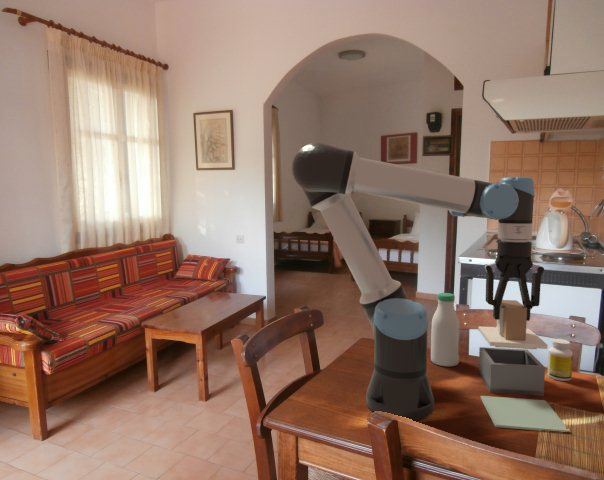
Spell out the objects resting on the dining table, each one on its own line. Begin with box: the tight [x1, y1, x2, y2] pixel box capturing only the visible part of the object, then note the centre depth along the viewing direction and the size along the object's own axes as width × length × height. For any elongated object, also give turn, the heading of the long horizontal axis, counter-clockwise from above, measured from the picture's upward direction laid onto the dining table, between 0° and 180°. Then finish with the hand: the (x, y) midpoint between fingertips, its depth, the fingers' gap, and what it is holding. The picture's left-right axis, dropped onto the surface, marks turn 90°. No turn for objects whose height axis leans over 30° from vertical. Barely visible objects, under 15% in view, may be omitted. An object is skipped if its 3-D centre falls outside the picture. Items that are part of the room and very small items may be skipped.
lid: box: [477, 299, 548, 350], centre depth 105 cm, size 13×13×10 cm
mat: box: [480, 395, 571, 432], centre depth 91 cm, size 14×13×1 cm
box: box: [478, 346, 546, 397], centre depth 106 cm, size 12×12×7 cm
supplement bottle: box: [547, 338, 574, 382], centre depth 110 cm, size 5×5×10 cm
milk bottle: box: [430, 292, 461, 368], centre depth 120 cm, size 8×8×20 cm
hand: (510, 332), depth 105 cm, fingers closed on lid, 4 cm apart
